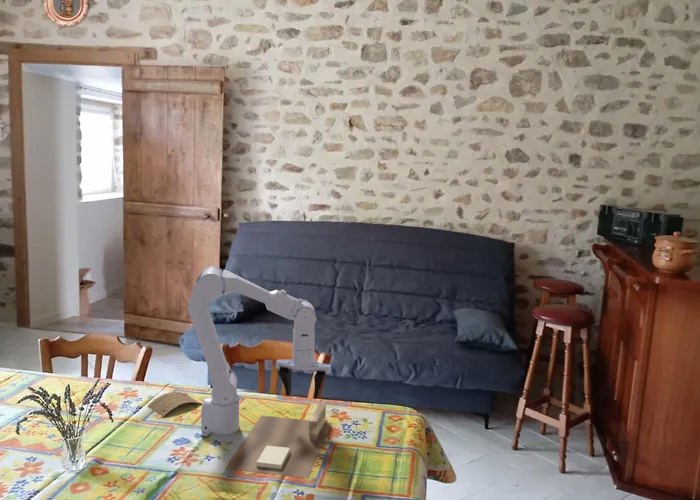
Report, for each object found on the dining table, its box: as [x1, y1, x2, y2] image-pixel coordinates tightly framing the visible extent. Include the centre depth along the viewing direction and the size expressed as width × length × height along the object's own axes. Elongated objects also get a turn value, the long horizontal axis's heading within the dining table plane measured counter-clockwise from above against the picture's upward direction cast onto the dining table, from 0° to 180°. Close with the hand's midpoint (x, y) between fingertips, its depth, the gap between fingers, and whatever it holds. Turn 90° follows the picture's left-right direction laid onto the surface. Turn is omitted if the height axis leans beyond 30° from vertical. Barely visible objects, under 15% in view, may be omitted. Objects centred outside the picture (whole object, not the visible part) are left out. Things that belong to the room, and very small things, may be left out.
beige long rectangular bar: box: [309, 402, 327, 440], centre depth 162 cm, size 2×11×5 cm, turn 171°
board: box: [224, 415, 332, 479], centre depth 154 cm, size 20×28×1 cm
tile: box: [256, 445, 290, 469], centre depth 147 cm, size 6×1×8 cm
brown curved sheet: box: [147, 391, 200, 418], centre depth 177 cm, size 14×10×3 cm
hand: (302, 395), depth 163 cm, fingers open, 7 cm apart
